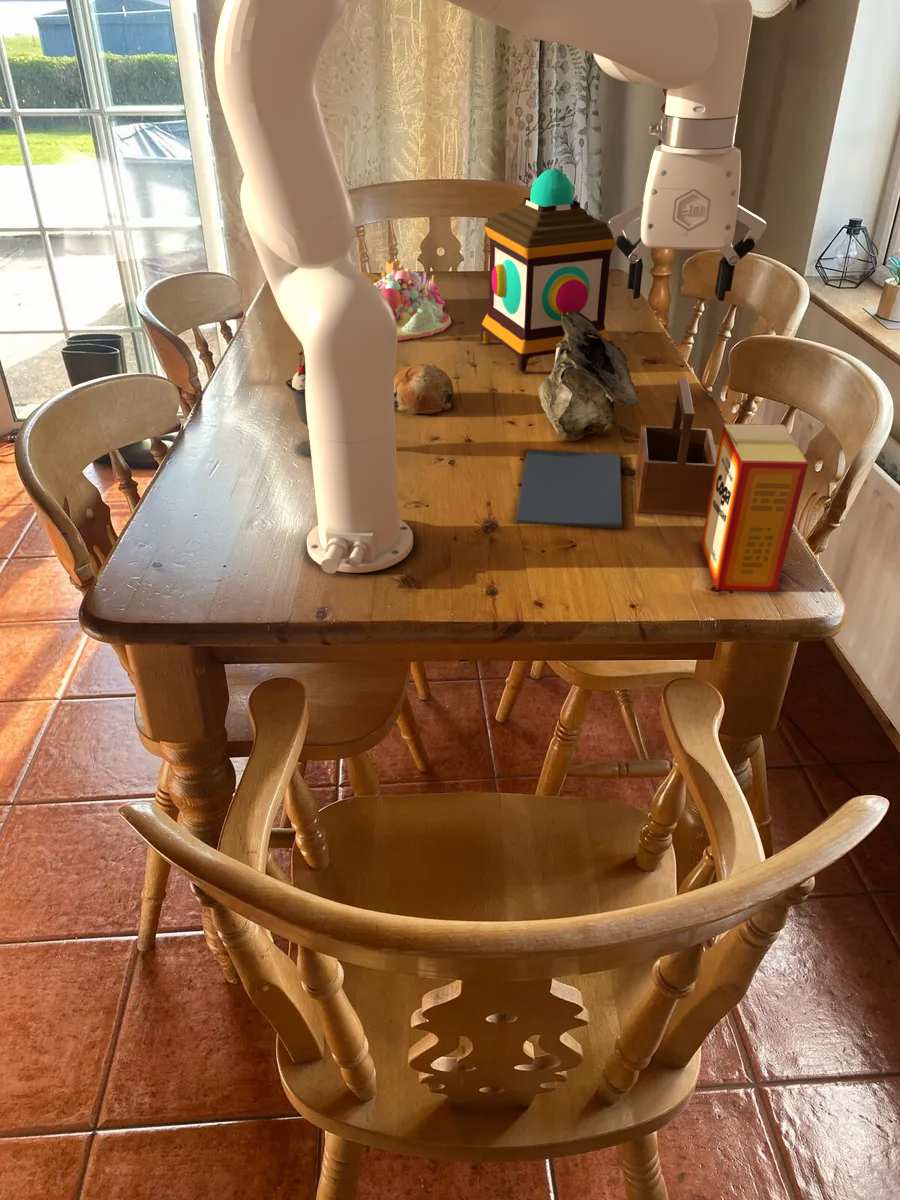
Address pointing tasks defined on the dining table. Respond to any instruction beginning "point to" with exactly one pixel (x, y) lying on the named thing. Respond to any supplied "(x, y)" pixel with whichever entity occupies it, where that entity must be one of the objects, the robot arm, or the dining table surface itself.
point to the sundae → (300, 399)
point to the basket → (675, 463)
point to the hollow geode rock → (585, 381)
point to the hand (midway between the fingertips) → (677, 296)
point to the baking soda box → (752, 506)
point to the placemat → (571, 489)
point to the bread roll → (422, 390)
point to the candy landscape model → (411, 300)
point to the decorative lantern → (545, 269)
